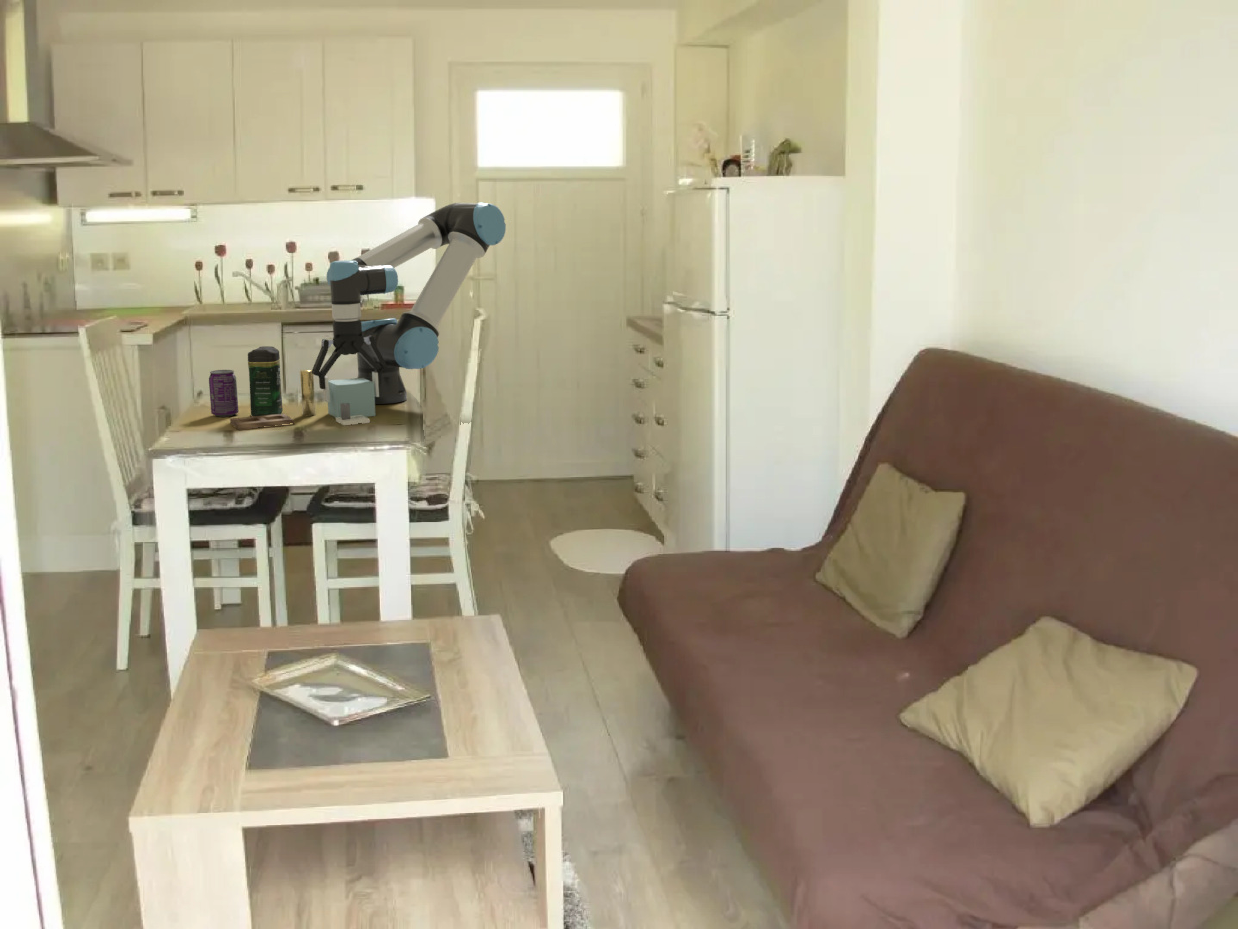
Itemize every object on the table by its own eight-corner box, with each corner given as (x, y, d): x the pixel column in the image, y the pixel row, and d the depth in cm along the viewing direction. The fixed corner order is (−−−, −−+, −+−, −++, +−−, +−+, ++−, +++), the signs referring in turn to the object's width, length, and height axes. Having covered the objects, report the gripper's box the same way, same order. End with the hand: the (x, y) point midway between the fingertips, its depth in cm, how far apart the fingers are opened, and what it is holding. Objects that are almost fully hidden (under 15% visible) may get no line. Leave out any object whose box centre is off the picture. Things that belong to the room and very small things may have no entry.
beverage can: (228, 412, 376) (225, 368, 374) (244, 414, 372) (241, 370, 370) (206, 415, 371) (202, 371, 369) (221, 418, 367) (218, 373, 364)
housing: (364, 410, 377) (362, 377, 375) (375, 415, 368) (373, 382, 366) (328, 413, 372) (326, 380, 370) (338, 419, 364) (337, 385, 362)
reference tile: (361, 418, 364) (360, 400, 363) (369, 422, 358) (368, 403, 357) (335, 421, 361) (334, 402, 360) (343, 425, 355) (342, 406, 354)
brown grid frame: (284, 418, 365) (283, 413, 365) (293, 424, 356) (293, 419, 356) (230, 423, 359) (230, 418, 358) (239, 429, 350) (238, 424, 350)
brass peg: (313, 413, 373) (311, 369, 371) (317, 415, 370) (314, 370, 368) (301, 414, 372) (298, 370, 369) (304, 416, 369) (301, 371, 366)
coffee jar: (278, 418, 366) (273, 348, 362) (248, 418, 366) (243, 349, 362) (286, 412, 376) (282, 344, 372) (257, 412, 376) (252, 344, 372)
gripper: (387, 315, 374) (392, 392, 378) (296, 321, 363) (302, 400, 367) (396, 317, 367) (400, 396, 372) (304, 324, 356) (309, 404, 361)
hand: (351, 398), depth 369 cm, fingers open, 13 cm apart
